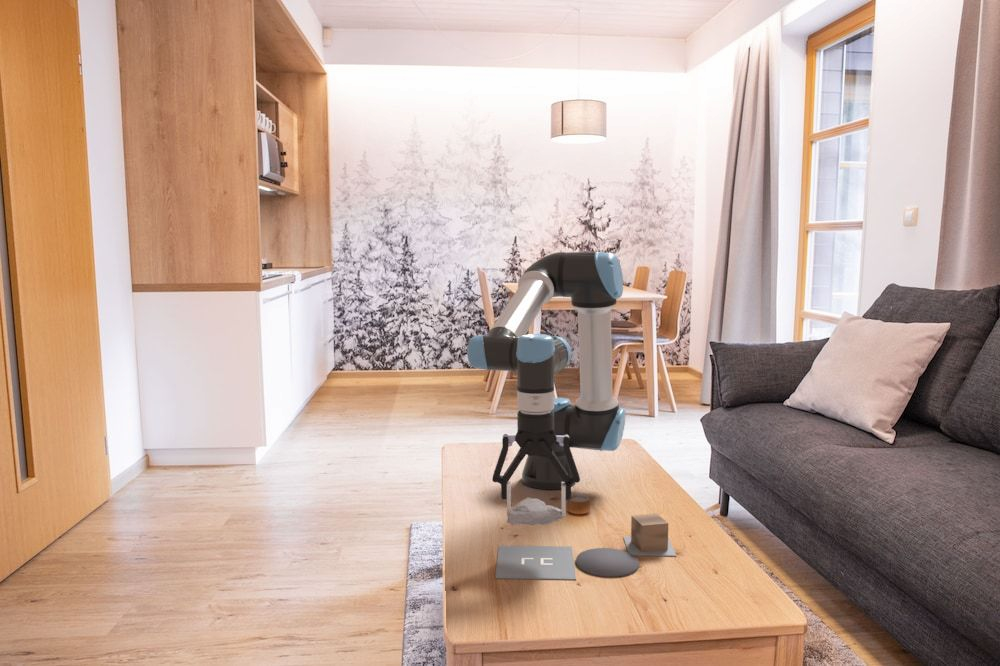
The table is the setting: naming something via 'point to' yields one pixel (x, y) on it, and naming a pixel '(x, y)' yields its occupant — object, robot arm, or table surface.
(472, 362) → the robot arm
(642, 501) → the table surface
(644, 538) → the walnut block
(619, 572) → the coaster
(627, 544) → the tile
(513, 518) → the stone
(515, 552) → the tile
